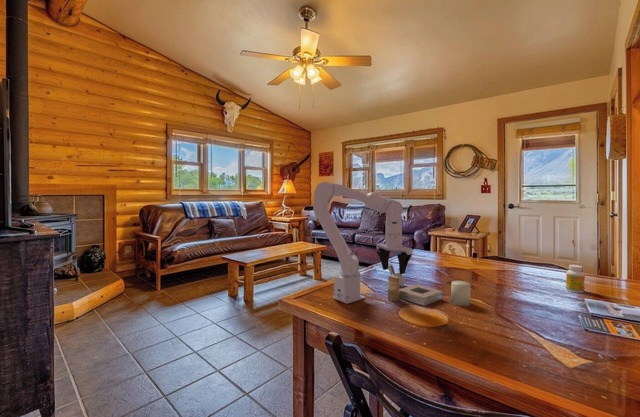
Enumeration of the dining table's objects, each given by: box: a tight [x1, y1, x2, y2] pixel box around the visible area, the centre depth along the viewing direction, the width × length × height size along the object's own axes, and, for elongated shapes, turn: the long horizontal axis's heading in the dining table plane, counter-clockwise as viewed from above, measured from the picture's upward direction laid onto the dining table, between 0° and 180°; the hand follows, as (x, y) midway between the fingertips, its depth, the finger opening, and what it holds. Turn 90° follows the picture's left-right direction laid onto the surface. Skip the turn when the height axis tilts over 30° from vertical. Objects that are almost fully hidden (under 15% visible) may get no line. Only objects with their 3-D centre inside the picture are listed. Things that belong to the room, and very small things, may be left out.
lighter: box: [387, 264, 405, 288], centre depth 129 cm, size 7×2×8 cm, turn 44°
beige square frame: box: [399, 283, 443, 307], centre depth 112 cm, size 11×11×3 cm
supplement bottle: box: [565, 264, 586, 294], centre depth 118 cm, size 5×5×10 cm
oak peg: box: [387, 275, 400, 302], centre depth 111 cm, size 4×4×8 cm
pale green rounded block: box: [450, 280, 471, 307], centre depth 107 cm, size 6×6×7 cm
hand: (393, 271), depth 111 cm, fingers open, 7 cm apart
